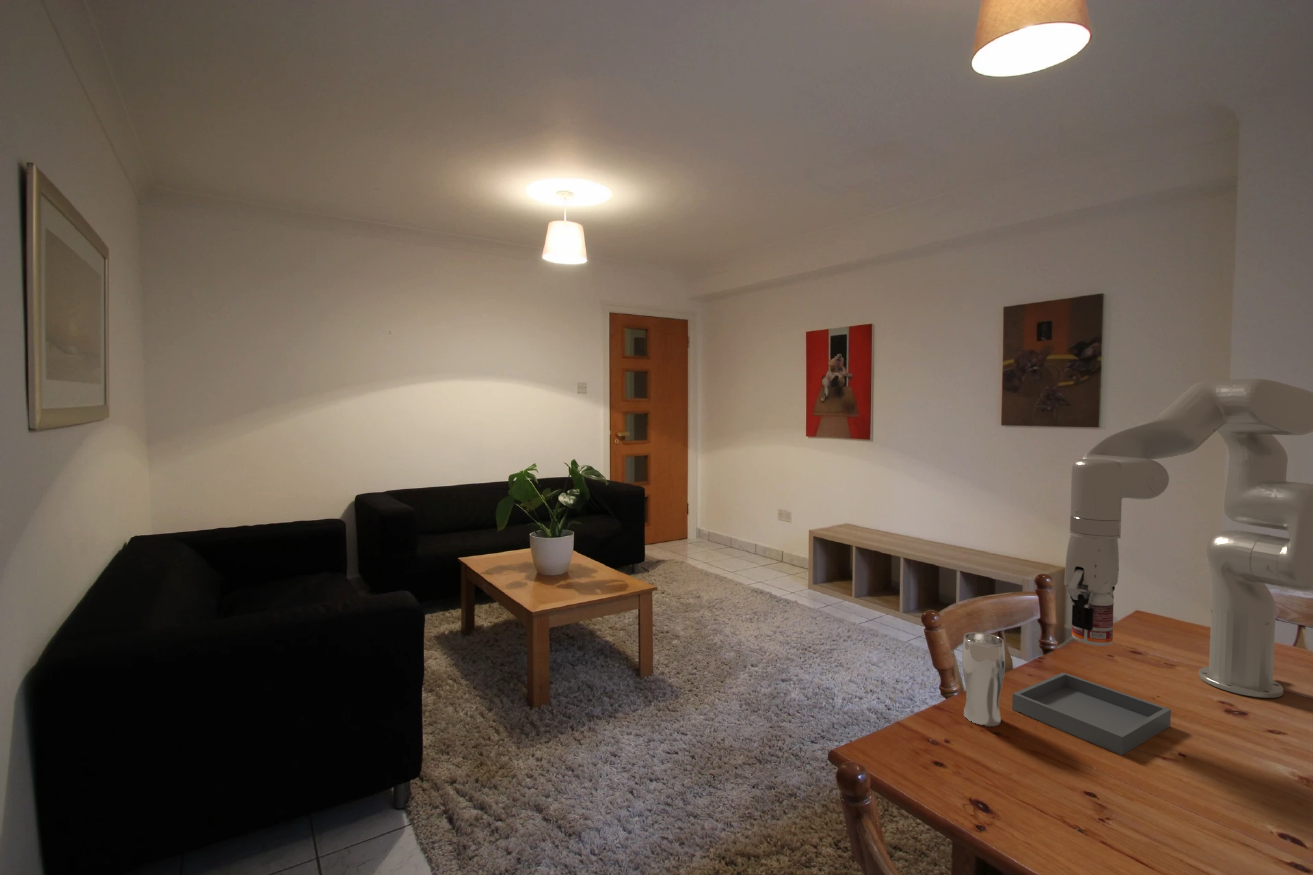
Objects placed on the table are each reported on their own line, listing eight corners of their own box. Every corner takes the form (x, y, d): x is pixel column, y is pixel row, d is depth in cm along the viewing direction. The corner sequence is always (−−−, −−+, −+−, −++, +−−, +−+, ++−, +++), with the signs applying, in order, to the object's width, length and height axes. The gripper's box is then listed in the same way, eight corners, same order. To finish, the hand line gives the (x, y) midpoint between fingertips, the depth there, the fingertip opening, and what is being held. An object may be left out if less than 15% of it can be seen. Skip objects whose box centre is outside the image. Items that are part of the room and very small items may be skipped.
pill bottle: (1118, 642, 112) (1120, 580, 112) (1103, 649, 109) (1105, 586, 108) (1080, 631, 118) (1082, 573, 117) (1065, 638, 114) (1066, 578, 114)
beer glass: (1001, 713, 116) (1003, 634, 115) (1005, 731, 110) (1007, 648, 109) (960, 706, 119) (962, 629, 118) (961, 722, 112) (963, 642, 112)
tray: (1062, 687, 126) (1063, 672, 126) (1170, 726, 111) (1170, 709, 111) (1012, 709, 117) (1012, 693, 117) (1121, 755, 102) (1122, 736, 102)
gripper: (1095, 519, 120) (1093, 610, 121) (1047, 528, 111) (1044, 627, 112) (1141, 525, 113) (1138, 622, 114) (1093, 536, 105) (1090, 640, 106)
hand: (1091, 623), depth 113 cm, fingers closed on pill bottle, 6 cm apart
